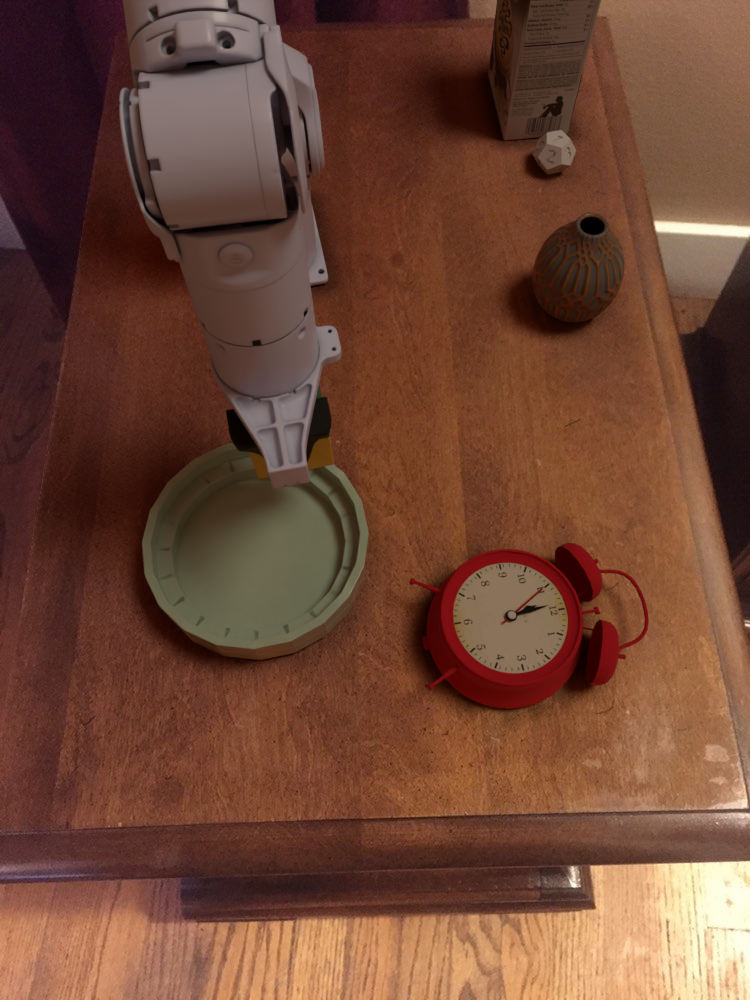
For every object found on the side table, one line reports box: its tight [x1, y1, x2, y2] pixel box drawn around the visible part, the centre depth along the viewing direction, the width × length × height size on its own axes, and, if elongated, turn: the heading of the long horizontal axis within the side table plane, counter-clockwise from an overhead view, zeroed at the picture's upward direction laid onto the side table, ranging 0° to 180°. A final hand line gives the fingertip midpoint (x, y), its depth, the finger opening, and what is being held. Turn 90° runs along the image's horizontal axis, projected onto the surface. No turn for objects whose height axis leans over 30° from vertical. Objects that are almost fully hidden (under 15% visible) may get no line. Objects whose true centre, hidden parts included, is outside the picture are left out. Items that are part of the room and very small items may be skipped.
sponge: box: [250, 385, 335, 479], centre depth 52 cm, size 5×3×4 cm
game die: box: [532, 130, 577, 175], centre depth 73 cm, size 4×4×3 cm
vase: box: [532, 212, 626, 323], centre depth 63 cm, size 7×7×9 cm
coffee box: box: [487, 0, 602, 141], centre depth 70 cm, size 9×6×16 cm
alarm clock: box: [408, 542, 650, 709], centre depth 54 cm, size 10×6×15 cm
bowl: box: [141, 442, 371, 661], centre depth 57 cm, size 15×15×4 cm
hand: (285, 436), depth 52 cm, fingers closed on sponge, 3 cm apart
